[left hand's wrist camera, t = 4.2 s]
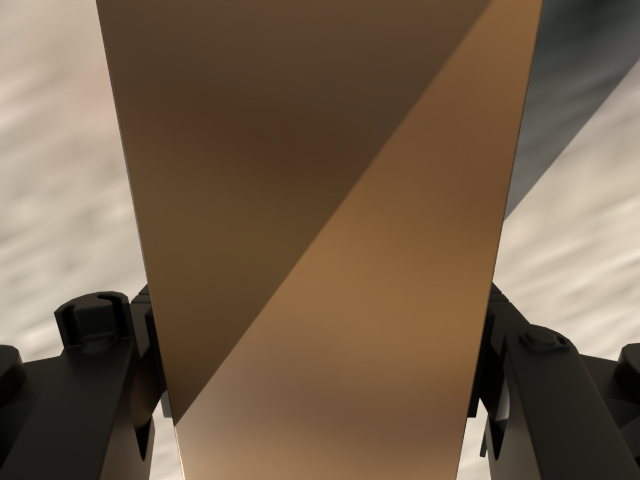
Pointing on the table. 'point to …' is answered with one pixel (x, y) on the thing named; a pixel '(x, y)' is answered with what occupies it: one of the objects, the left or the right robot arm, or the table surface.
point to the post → (319, 220)
